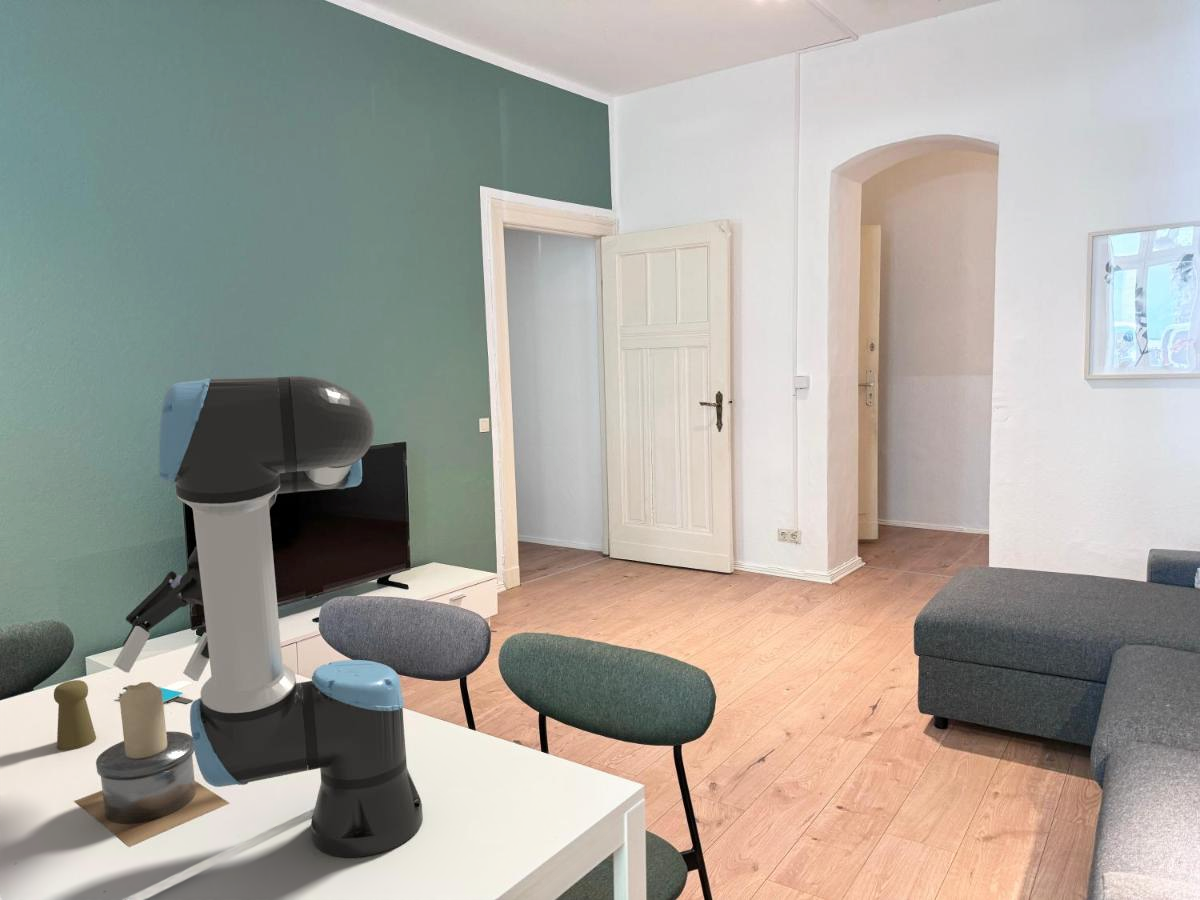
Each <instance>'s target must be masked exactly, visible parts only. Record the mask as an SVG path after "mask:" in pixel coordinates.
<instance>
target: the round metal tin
mask: <svg viewBox="0 0 1200 900" xmlns="http://www.w3.org/2000/svg"><path fill="white" fill-rule="evenodd" d="M166 734H167V748H166V749H165V750H164V751H162V752H161V753H159V754H156V755H154V756H150V757H146V758H140V759H132V758H128V757H127V756H126V753H125V745H124V740H122V741H119V742H117V743H116V744H114V745H112V746H110V747H108V748H107V749H105V750H103V751H102V752H101V753H100V754H99V755H98V756H97V758H96V760H95V766H96V773H97V775H99V776H100V782H101V791H102V792H103V801H104V810H105V816H106V818H107V819H108V820H109V821H111V822H114V823H118V824H136V823H143V822H148V821H152V820H156V819H159V818H162V817H165V816H168V815H170V814H172V813H174V812H176V811H178V810H180V809H182V808H183V807H185V806H186V805H187V804H188V803H190V802H191V801H192V799H193V798H194V796H195V794H196V789H195V781H196V780H195V771H194V770H195V769H194V760H193V754H194V753H195V751H194V747H193V737H192V735H190V734H188V733H186V732H181V731H166Z"/></svg>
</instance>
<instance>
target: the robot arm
mask: <svg viewBox="0 0 1200 900" xmlns="http://www.w3.org/2000/svg"><path fill="white" fill-rule="evenodd" d="M159 421H160V424H159V437H158V471H159V479H160V481H161V482H164V483H168V484H173V483H174V484H175V490H176V496H177V499H178V500H180V501H181V502H183V503H184V504H186V505H187V506H189V507H190V508H192V513H193V515H192V516H193V523H194V533H195V541H196V546H195V547H194V549H193V551H192V553H191V555H190V556H189V558H188V560H187V565H188V568H187V571H186V572H185V573H184V574H183V575H181V574H177V573H176V572H175V571H173V570H171V571H169V572H168V573H167V574H166V575H165V577H164V579H162V582H161V583H160V584H159V585H158V586H157V587H156V588H155V589H154V590H152V592H150V594H149V595H147V596H146V597H145V599H143V600H142V601H141V602H140V603H139V604H138V605H137V606H136V607H135V608H134V609H133V610H131V612H130V613H128V615H127V616H126V618H125V621H126V622H128V623H129V624H130V625H131V626H132V627H131V629H130V631H129V632H128V634H127V636H126V637H125V639H124V641H123V643H122V645H123V646H122V649H121V650H120V652H119V653H118V656H117V657H116V659H115V661H114V663H113V666H115V667H116V668H117V669H119V670H120V671H122V672H125V673H126V674H127V673H130V671H131V670H132V668H133V666H134V664H135V663H136V661H137V659H138V658H139V656H140V654H141V652H142V650H143V648H144V646H145V645H146V643H147V641H148V639H150V636H151V632H150V630H151V629H152V628H154V627H155V626H156V625H158V624H159V623H160V622H162V621H163V620H164V619H166V618H167V617H168V616H170V615H171V614H173V613H174V612H175V611H177V610H178V609H180V608H184V607H186V606H188V605H198V604H199V605H201V606H203V612H204V613H203V614H204V622H205V623H204V624H205V629H206V630H205V632H203V634H202V636H201V638H200V639H199V641H198V643H197V645H196V648H195V649H194V650H193V652H192V654H191V656H190V658H189V661H188V662H187V663H186V666H185V669H184V670H183V672H182V673H183V674H184V675H185V676H187V677H188V678H189V679H191V680H193V681H195V682H198V681H199V680H200V678H201V677H202V674H203V673H204V671H205V669H206V666H207V665H208V663H209V667H210V675H211V676H210V677H209V678H208V679H207V680H206V681H205V682H204V684H203V685H202V687H201V690H200V697H199V698H197V699H195V700H193V701H192V703H191V705H190V709H189V710H190V711H189V721H190V722H189V725H190V726H189V727H190V732H191V736H192V737H193V747H194V755H195V759H196V763H197V767H198V769H199V771H200V774H201V775H202V778H203V779H204V780H205V782H206V783H207V784H209V785H210V786H212V787H215V788H221V787H229V786H235V785H237V786H246V785H248V784H249V783H253V782H256V781H257V782H258V781H262V780H268V779H271V778H277V777H283V776H288V775H293V774H297V773H298V774H299V773H302V772H308V771H312V770H313V771H314V770H318V769H320V786H319V789H318V793H317V798H316V801H315V806H314V810H313V811H314V812H313V814H312V817H311V822H310V823H311V824H310V829H311V837H312V839H311V840H312V843H313V844H314V846H315V847H316V849H318V850H319V851H321V852H323V853H324V854H328V855H331V856H335V857H339V858H340V857H342V858H358V857H360V858H361V857H366V856H372V855H376V854H380V853H383V852H386V851H389V850H392V849H394V848H396V847H398V846H400V845H402V844H404V843H406V842H407V841H408V840H410V839H411V838H412V837H413V836H415V835H416V833H418V831H419V830H420V828H421V827H422V824H423V821H424V820H423V819H424V818H423V817H424V815H423V803H422V799H421V797H420V795H419V792H418V790H417V787H416V786H415V783H414V780H413V778H412V776H411V774H410V772H409V769H408V764H407V763H408V762H407V749H406V738H405V737H406V736H405V724H404V723H405V722H404V706H405V700H404V698H403V693H402V686H401V680H400V677H399V674H398V673H397V672H396V671H395V669H393V668H392V667H390V666H389V665H386V664H383V663H380V662H376V661H372V660H363V659H362V660H361V659H348V660H347V659H346V660H337V661H332V662H329V663H328V664H322V665H320V666H319V667H316V669H315V670H314V671H313V673H312V674H313V675H312V676H311V680H308V681H307V680H306V681H301V682H297V677H296V674H295V672H294V670H293V669H292V668H291V667H290V666H287V665H285V664H284V663H283V657H282V647H281V645H282V644H281V632H280V631H281V630H280V620H279V611H278V610H279V609H278V599H277V597H278V596H277V585H276V584H277V583H276V574H275V573H276V572H275V563H274V550H273V541H272V538H273V537H272V526H271V516H270V514H271V513H270V510H271V507H273V506H274V504H275V503H276V499H277V495H278V494H289V493H298V492H311V491H321V490H322V491H323V490H335V489H337V490H344V489H346V488H347V489H348V488H353V487H358V486H360V484H361V483H362V481H363V464H362V458H363V457H364V456H366V455H365V454H367V452H368V450H369V449H370V447H371V445H372V442H373V440H374V439H373V438H374V434H375V429H374V421H373V417H372V414H371V412H370V410H369V409H368V407H367V406H366V404H365V403H364V402H363V401H362V400H361V399H360V398H358V396H356V395H355V394H354V393H353V392H351V391H350V390H348V389H346V388H344V387H343V386H341V385H340V384H339V385H338V384H336V383H334V382H331V381H328V380H326V379H321V378H316V377H313V376H305V375H304V376H303V375H296V376H295V375H288V376H280V377H279V376H278V377H277V376H275V377H273V376H272V377H271V376H270V377H239V378H237V377H236V378H208V377H207V378H205V379H201V380H200V379H199V380H193V381H192V380H191V381H182V382H177V383H176V382H175V383H174V384H172V385H170V386H169V387H168V388H167V390H166V391H165V393H164V395H163V398H162V405H161V411H160V420H159Z"/></svg>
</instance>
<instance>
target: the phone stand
mask: <svg viewBox="0 0 1200 900" xmlns="http://www.w3.org/2000/svg"><path fill="white" fill-rule="evenodd" d="M131 685H132V684H129V685H128V686H125V687H123V689H125V690H127V689H128V688H129V686H131ZM193 685H194V683H193V682H190V681H186V680H179V681H177V682H174V683H171V684H169V685H167V686H164V687H160V686H157V687H158V688H160V689H161V690H162V695H163V705H166V704H167V703H168V704H169V703H172V702H178V703H185V704H188V703H190V702H194V699H190V698H187V697H183V694H184V692H181V691H180V690H183V689H185V688H187V687H190V686H193ZM125 692H126V691H124V692H122V693H121V692H119V694H118V696H119V699H120V698H121V696H122V695H123V694H124V693H125Z"/></svg>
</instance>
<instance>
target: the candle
mask: <svg viewBox="0 0 1200 900" xmlns="http://www.w3.org/2000/svg"><path fill="white" fill-rule="evenodd" d="M130 685H131V686H129V685H128V686H129V688H128V689H125V690H126V691H124V692H125V693H124V694H123V695H122V696H121V698H120V697H119V706H120V707H119V709H120V715H121V724H122V725H121V726H122V735H123V741H124V745H125V753H126V756H127V757H128V758H132V759H140V758H146V757H150V756H154V755H156V754H159V753H161V752H162V751H164V750H165V749H166V748H167V734H166V732H167V727H166V726H167V725H166V716H165V707H164V705H165V704H163V703H164V702H163V695H162V690H161V689H160V688H158V687H159V686H156V685H155V684H154V683H152V682H150V681H145V682H140V683H137V684H130Z"/></svg>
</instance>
